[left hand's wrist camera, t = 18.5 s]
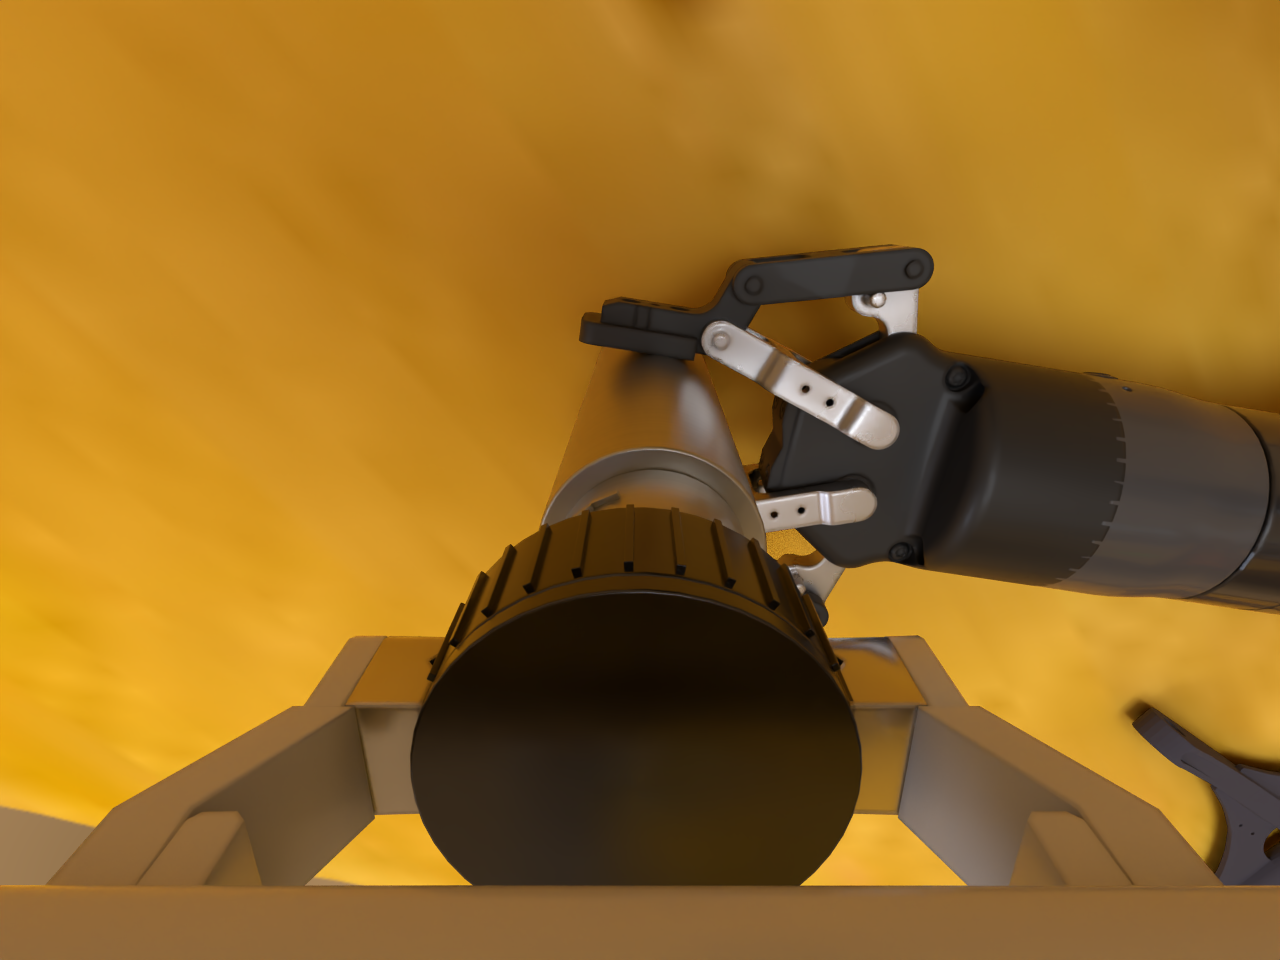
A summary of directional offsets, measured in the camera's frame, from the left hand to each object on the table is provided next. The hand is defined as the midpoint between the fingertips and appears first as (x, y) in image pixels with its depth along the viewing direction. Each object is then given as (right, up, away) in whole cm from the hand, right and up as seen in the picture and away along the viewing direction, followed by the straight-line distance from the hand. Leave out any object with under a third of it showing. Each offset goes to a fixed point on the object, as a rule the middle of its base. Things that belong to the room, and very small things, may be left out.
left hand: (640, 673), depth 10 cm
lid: (0, -1, -2) cm, 2 cm away
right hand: (-2, +5, +13) cm, 14 cm away
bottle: (0, +7, +19) cm, 21 cm away
